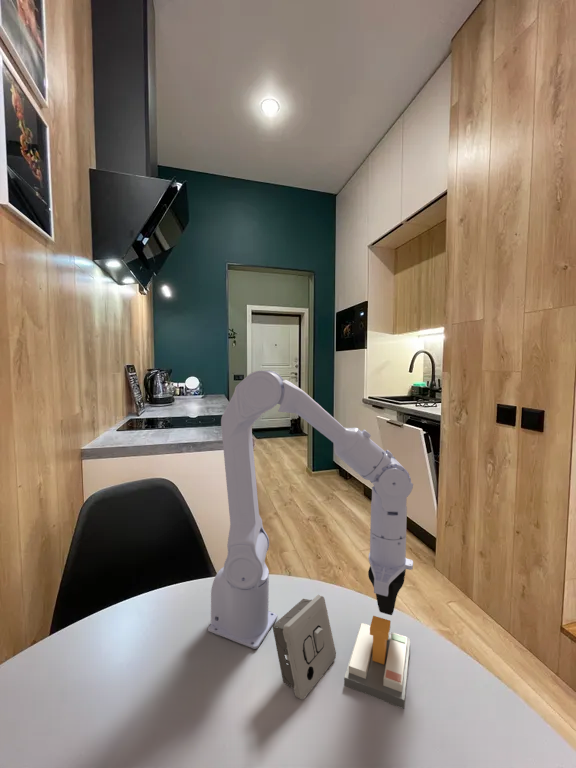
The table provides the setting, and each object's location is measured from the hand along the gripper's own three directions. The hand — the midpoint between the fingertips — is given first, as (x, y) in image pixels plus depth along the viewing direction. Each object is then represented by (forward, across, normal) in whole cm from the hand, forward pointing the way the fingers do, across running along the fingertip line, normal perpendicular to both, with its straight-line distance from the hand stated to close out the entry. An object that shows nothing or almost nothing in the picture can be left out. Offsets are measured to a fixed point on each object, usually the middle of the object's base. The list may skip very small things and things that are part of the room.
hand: (386, 611), depth 57 cm
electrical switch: (+4, -12, +10) cm, 16 cm away
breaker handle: (+3, -6, 0) cm, 7 cm away
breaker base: (+4, -6, 0) cm, 8 cm away
